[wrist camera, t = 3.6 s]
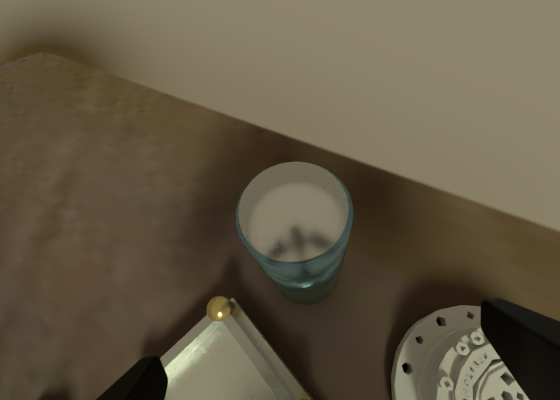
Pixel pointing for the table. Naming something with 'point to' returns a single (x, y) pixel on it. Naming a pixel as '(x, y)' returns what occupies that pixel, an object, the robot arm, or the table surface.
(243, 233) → the cylinder
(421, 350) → the mechanical component
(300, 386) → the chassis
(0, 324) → the table surface
